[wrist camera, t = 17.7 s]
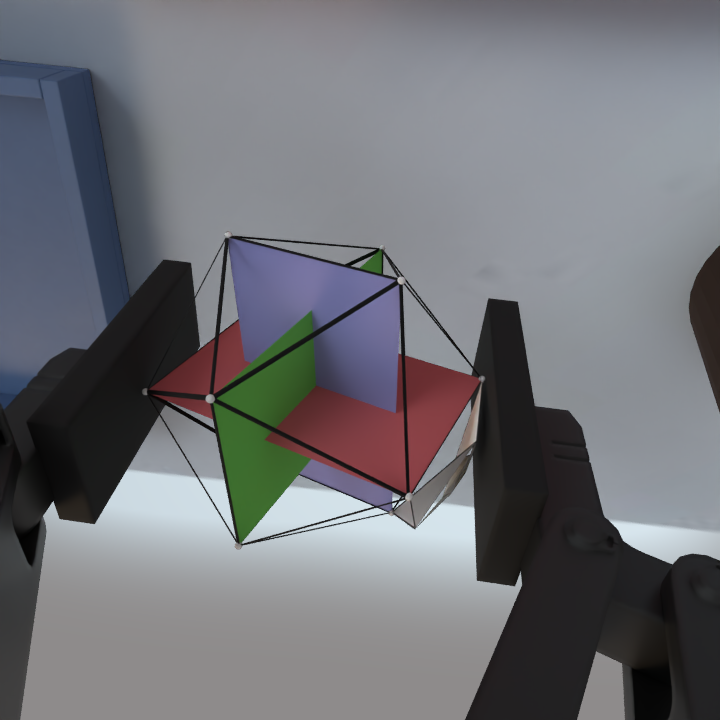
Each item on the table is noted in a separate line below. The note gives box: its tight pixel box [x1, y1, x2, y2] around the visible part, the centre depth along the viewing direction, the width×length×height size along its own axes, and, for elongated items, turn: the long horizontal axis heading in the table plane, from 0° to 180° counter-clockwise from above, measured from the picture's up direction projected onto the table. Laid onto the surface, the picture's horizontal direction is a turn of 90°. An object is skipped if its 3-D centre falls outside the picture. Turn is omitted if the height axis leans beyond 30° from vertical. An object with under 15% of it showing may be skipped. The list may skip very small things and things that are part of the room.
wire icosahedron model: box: [142, 232, 485, 549], centre depth 14 cm, size 7×7×8 cm
